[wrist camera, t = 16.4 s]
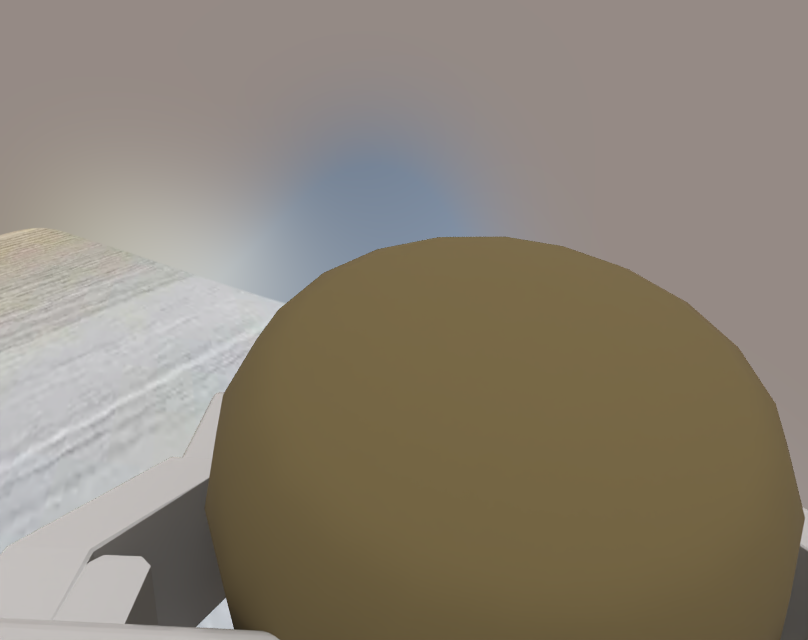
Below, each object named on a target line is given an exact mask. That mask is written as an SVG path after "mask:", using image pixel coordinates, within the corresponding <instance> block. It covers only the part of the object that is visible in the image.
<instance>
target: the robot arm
mask: <svg viewBox="0 0 808 640" xmlns="http://www.w3.org/2000/svg"><path fill="white" fill-rule="evenodd" d="M224 393H225V392H219V393H217V394H215V395H214V396H213V398H212V400H211V402H210V404H209V406H208V408H207V410H206V412H205V414H204V416H203V418H202V420H201V421H200V423H199V425H198V427H197V429H196V431H195V433H194V435H193V437H192V439H191V441H190V443H189V445H188V447H187V449H186V451H185V453H184V455H183V457H170V458H168V459H166V460H165V461H163V462H161V463H159V464H157V465H155V466H154V467H152V468H150V469H148V470H146V471H144V472H143V473H141V474H139V475H137V476H135V477H133V478H132V479H130V480H128V481H126V482H124V483H122V484H121V485H119V486H117V487H115V488H113V489H111V490H110V491H108V492H106V493H104V494H102V495H100V496H99V497H97V498H95V499H93V500H91V501H89V502H88V503H86V504H84V505H82V506H80V507H78V508H77V509H75V510H73V511H71V512H69V513H67V514H66V515H64V516H62V517H60V518H58V519H56V520H55V521H53V522H51V523H49V524H47V525H45V526H44V527H42V528H40V529H38V530H36V531H34V532H33V533H31V534H29V535H27V536H25V537H23V538H22V539H20V540H18V541H16V542H14V543H12V544H11V545H9V546H7V547H6V548H5V550H4V551H3V552H2V554H1V555H0V640H279V639H278V638H277V637H275V636H274V635H272V634H270V633H268V632H265V631H255V630H235V629H216V628H196V626H197V625H198V624H199V623H200V622H201V621H202V620H203V619H204V618H205V617H206V616H207V615H208V614H209V613H211V612H212V611H213V610H214V609H215V608H216V607H217V606H218V605H219V604H220V603H221V602H222V601H223V600H224V599H225V598H226V596H225V592H224V587H223V583H222V579H221V575H220V571H219V567H218V563H217V558H216V554H215V550H214V546H213V542H212V538H211V533H210V529H209V525H208V521H207V517H206V513H205V509H204V508H205V502H206V495H207V489H208V482H209V476H210V469H211V463H212V457H213V450H214V444H215V437H216V431H217V426H218V420H219V415H220V409H221V403H222V398H223V394H224ZM803 511H804V516H805V521H804V526H803V532H802V537H801V542H800V548H799V553H798V558H797V564H796V569H795V575H794V580H793V585H792V591H791V596H790V600H789V605H788V609H787V613H786V618H785V622H784V626H783V631H782V635H781V639H780V640H808V510H806V509H805V508H803Z"/></svg>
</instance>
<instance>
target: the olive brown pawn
mask: <svg viewBox="0 0 808 640" xmlns="http://www.w3.org/2000/svg"><path fill="white" fill-rule="evenodd" d="M204 509H205V513H206V517H207V521H208V525H209V529H210V533H211V538H212V542H213V546H214V550H215V554H216V558H217V563H218V567H219V571H220V575H221V579H222V583H223V587H224V592H225V596H226V599H227V603H228V607H229V611H230V615H231V619H232V623H233V627H234V629H235V630H255V631H265V632H268V633H270V634H272V635H274V636H275V637H277V638H278V639H279V640H780V639H781V635H782V631H783V626H784V622H785V618H786V613H787V609H788V605H789V600H790V596H791V591H792V585H793V580H794V575H795V569H796V564H797V558H798V553H799V548H800V542H801V537H802V532H803V526H804V521H805V516H804V511H803V507H802V503H801V500H800V495H799V491H798V487H797V483H796V479H795V475H794V471H793V466H792V462H791V459H790V454H789V450H788V446H787V442H786V439H785V435H784V432H783V428H782V425H781V421H780V418H779V414H778V411H777V407H776V404H775V402H774V401H773V399H772V398H771V396H770V395H769V393H768V392H767V390H766V389H765V387H764V386H763V384H762V383H761V381H760V380H759V378H758V376H757V375H756V374H755V372H754V370H753V369H752V367H751V366H750V364H749V363H748V361H747V360H746V358H745V357H744V355H743V354H742V353H741V351H740V349H739V348H738V347H737V346H736V345H735V344H734V343H732V342H731V341H730V340H729V339H728V338H727V337H726V336H724V335H723V334H722V333H721V332H720V331H719V330H717V328H716V327H714V326H713V325H712V324H711V323H710V322H709V321H708V320H706V319H705V318H704V317H703V316H702V315H701V314H700V313H699V312H697V311H696V310H695V309H694V308H693V307H692V306H690V305H689V304H688V303H687V302H685V301H683V300H682V299H680V298H678V297H676V296H675V295H673V294H671V293H669V292H667V291H666V290H664V289H662V288H660V287H659V286H657V285H655V284H653V283H651V282H650V281H648V280H646V279H644V278H643V277H641V276H639V275H637V274H636V273H634V272H632V271H630V270H629V269H626V268H623V267H620V266H618V265H615V264H612V263H609V262H607V261H604V260H601V259H598V258H595V257H592V256H589V255H586V254H584V253H581V252H578V251H575V250H572V249H569V248H566V247H563V246H558V245H551V244H546V243H540V242H533V241H528V240H521V239H515V238H510V237H437V238H432V239H427V240H422V241H417V242H412V243H407V244H402V245H397V246H392V247H387V248H381V249H377V250H375V251H372V252H370V253H368V254H366V255H363V256H361V257H359V258H356V259H354V260H352V261H350V262H347V263H345V264H343V265H340V266H338V267H336V268H334V269H331V270H329V271H327V272H324V273H323V274H321V275H320V276H319V277H318V278H317V279H315V280H314V281H313V282H312V283H311V284H309V285H308V286H307V287H306V288H304V289H303V290H302V291H301V292H299V293H298V294H297V295H296V296H295V297H294V298H292V299H291V300H290V301H289V302H287V303H286V304H285V305H284V306H282V307H281V308H280V309H279V310H278V311H277V313H276V314H275V315H274V317H273V318H272V319H271V321H270V322H269V323H268V325H267V326H266V327H265V329H264V330H263V331H262V333H261V334H260V336H259V337H258V338H257V340H256V341H255V343H254V345H253V346H252V348H251V350H250V351H249V353H248V355H247V356H246V358H245V359H244V361H243V363H242V364H241V366H240V368H239V369H238V371H237V373H236V374H235V376H234V378H233V379H232V381H231V383H230V384H229V386H228V388H227V389H226V391H225V393H224V394H223V398H222V403H221V409H220V415H219V420H218V426H217V431H216V437H215V444H214V450H213V457H212V463H211V469H210V476H209V482H208V489H207V495H206V502H205V508H204Z"/></svg>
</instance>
